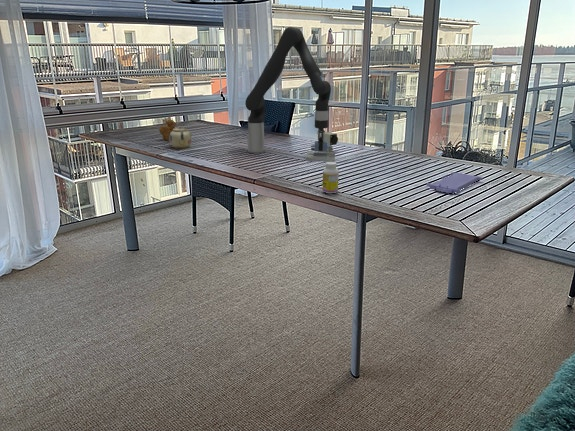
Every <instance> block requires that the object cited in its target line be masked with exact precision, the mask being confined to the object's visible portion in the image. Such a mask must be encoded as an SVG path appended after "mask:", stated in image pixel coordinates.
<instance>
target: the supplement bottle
mask: <svg viewBox="0 0 575 431" xmlns="http://www.w3.org/2000/svg"><path fill="white" fill-rule="evenodd" d="M324 165H325V168H324V169H323V170H322V190H321V191H322V193H323V192H326V193H336V192H337V193H338V192H339V173H340V172H339V169H338V168H337V166H338V163H337V162H335V161H325V164H324ZM337 193H336V194H337Z"/></svg>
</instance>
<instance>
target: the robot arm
mask: <svg viewBox="0 0 575 431" xmlns="http://www.w3.org/2000/svg"><path fill="white" fill-rule="evenodd" d="M306 41H307V40H305V36H304V34H303V32H302V30H301V29H300V28H298V27H295V26H289V27H286V28H285V29H284V31H283V32H282V33H281V36H280V38H279V41H278V43H277V46H275V49H274V51H273V53H272V54H271V56H270V58H269V59H268V61H267V63H266V64H265V66H264V68H263V70H262V73H261V74H260V76H259V77H258V78H257V79H258V80H257V81H256V84H255V86H254V87H253V89H252V90H251V91H250V92H249V94H248V95H247V97H246V98H245V102H244V103H245V107H246V109H247V110H248V111H250V113H249V116H248V118H247V129H248V135H247V152H248V153H253V154H254V153H257V154H258V153H264V152H265V117H266V100H265V98H264V96H265V95H266V93H267V92H268V91H269V90H270V89H271V88H272V87H273V86H274V84H275V83H277V81H278V79H279V77H280V76H281V74H282V73H283V70H284V67H285V62H286V58H287V57H288V54H289V53H290V50H291V48H294V49H295V50H296V52H297V54H298V55H299V57H300V61H301V65H302V68H303V70H304V71H305V74H306V75H307V77H308V79H309V81H310V85H311V88H312V90H313V92H314V93H315V94H317V95H318V97H317V98H316V100H315V105H314V106H315V110H314V111H315V112H314V128H315V129H318V130H317V141H318V144H319V151H322V150H323V141H324V135H325V132H326V130H324V129H328V128H329V117H330V116H329V102H330V98H331V92H332V88H331V86H332V85H331V84H330V82H328V81H327V80H322V77H321V75H322V71H321V70H320V68H319V66H318V65H317V62H316V61H315V58H314V57H313V55H312V53H311V51H310V49H309V47H308V44H307V42H306Z"/></svg>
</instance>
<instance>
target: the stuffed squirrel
mask: <svg viewBox="0 0 575 431" xmlns="http://www.w3.org/2000/svg"><path fill="white" fill-rule="evenodd" d="M165 124H166V125H163V126H160V127H159V128H158V132H159V134H160V135H161V136H162V140H164V141H166V142H170V140H169V136H170V133H171V132H172V131H173V129H175V128H176V126H178V124H177V123H176V122H175V120H173V119H169V120H165Z"/></svg>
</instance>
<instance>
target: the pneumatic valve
mask: <svg viewBox="0 0 575 431" xmlns="http://www.w3.org/2000/svg"><path fill="white" fill-rule="evenodd" d="M324 141H328V145H331V148H327V152H333V148H334V147H333V146H334V145H335V146H336V145H337V144H338V142H339V137H338V134H337V133H334V132H331V131H330V130H329V131H325V135H324Z"/></svg>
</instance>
